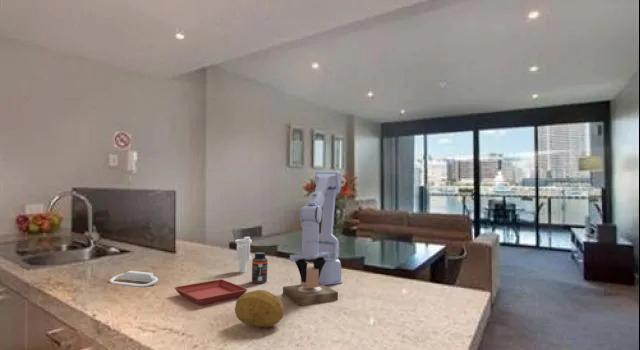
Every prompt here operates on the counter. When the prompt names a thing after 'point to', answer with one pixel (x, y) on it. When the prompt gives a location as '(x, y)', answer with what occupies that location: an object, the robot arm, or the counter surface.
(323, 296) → the plinth
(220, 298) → the plant saucer
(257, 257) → the supplement bottle
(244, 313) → the potato
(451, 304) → the counter surface
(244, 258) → the white upright piece
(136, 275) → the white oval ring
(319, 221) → the robot arm
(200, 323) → the counter surface
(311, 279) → the block
